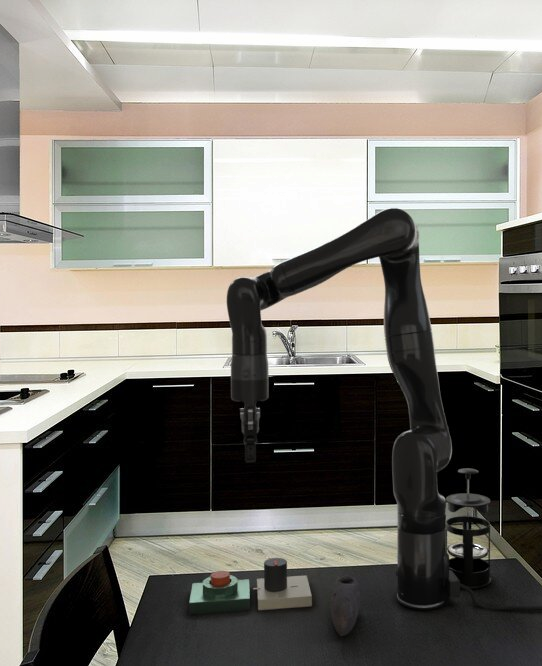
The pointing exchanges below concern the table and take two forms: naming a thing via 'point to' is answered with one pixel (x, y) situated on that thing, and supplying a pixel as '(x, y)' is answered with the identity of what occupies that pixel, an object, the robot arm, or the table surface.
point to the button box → (219, 596)
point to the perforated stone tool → (345, 602)
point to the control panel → (285, 594)
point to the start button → (220, 578)
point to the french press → (469, 539)
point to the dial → (275, 574)
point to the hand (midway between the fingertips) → (250, 461)
